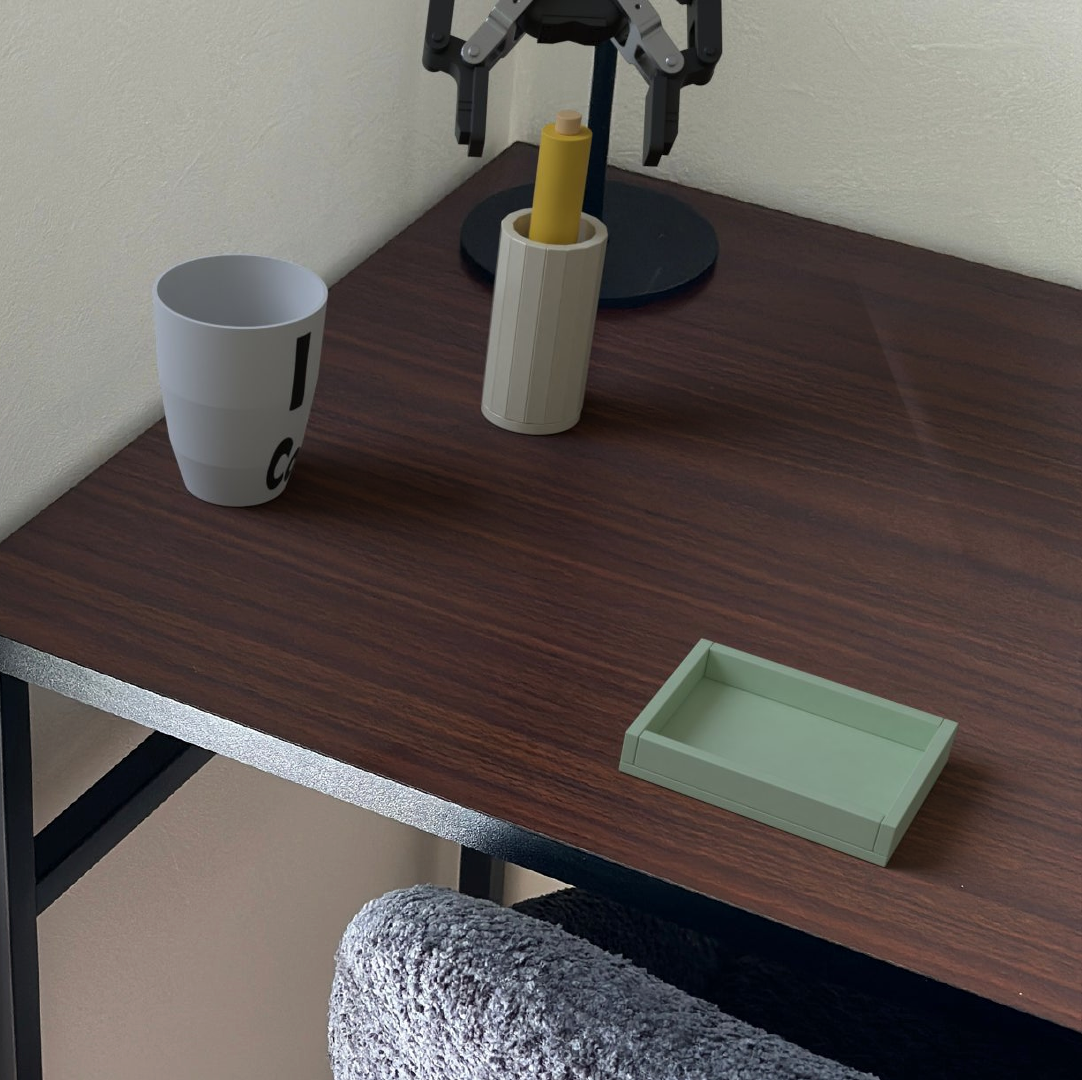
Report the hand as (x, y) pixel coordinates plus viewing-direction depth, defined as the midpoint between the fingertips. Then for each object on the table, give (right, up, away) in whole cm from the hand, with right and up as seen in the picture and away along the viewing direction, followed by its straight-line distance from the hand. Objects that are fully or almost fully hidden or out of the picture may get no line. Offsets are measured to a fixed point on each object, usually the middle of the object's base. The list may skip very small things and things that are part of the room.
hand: (564, 155), depth 101 cm
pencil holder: (0, -11, +8) cm, 14 cm away
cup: (-16, -16, +2) cm, 22 cm away
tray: (+7, -30, -15) cm, 34 cm away
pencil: (0, -10, +8) cm, 13 cm away
